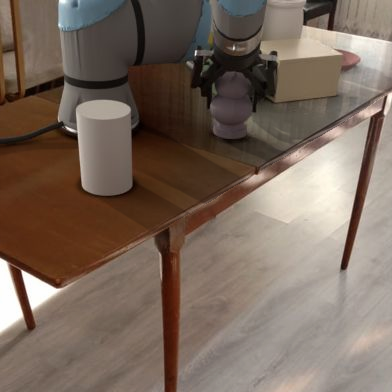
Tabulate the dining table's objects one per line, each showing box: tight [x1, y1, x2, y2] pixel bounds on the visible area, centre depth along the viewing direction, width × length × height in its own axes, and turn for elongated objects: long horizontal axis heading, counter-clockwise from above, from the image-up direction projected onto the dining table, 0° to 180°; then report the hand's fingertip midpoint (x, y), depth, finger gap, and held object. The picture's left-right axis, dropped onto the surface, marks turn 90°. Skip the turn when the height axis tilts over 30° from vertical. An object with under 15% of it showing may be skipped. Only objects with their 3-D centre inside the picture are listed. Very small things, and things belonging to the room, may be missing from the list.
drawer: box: [185, 59, 278, 99], centre depth 133 cm, size 20×12×7 cm, turn 114°
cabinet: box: [260, 36, 344, 104], centre depth 138 cm, size 16×14×9 cm
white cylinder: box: [76, 100, 133, 197], centre depth 98 cm, size 8×8×12 cm
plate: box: [333, 48, 362, 72], centre depth 155 cm, size 14×14×2 cm
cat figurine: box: [209, 72, 253, 140], centre depth 115 cm, size 9×8×12 cm
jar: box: [261, 0, 307, 41], centre depth 149 cm, size 11×10×15 cm
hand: (231, 103), depth 119 cm, fingers closed on cat figurine, 8 cm apart
